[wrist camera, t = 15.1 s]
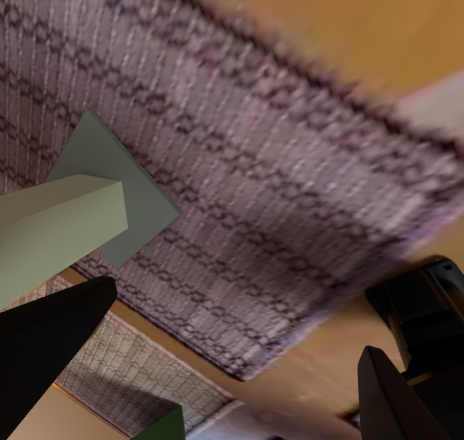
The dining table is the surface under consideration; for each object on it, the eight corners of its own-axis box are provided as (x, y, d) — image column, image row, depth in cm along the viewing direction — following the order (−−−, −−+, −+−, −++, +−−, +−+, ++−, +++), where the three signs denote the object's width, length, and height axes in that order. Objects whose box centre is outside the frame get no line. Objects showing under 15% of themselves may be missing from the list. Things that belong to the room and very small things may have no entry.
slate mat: (182, 212, 23) (179, 214, 23) (120, 267, 29) (116, 269, 28) (91, 109, 22) (86, 109, 21) (45, 188, 27) (39, 189, 27)
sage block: (127, 228, 25) (-25, 326, 14) (88, 219, 26) (-82, 302, 15) (121, 181, 23) (-66, 251, 12) (78, 173, 24) (-128, 231, 13)
